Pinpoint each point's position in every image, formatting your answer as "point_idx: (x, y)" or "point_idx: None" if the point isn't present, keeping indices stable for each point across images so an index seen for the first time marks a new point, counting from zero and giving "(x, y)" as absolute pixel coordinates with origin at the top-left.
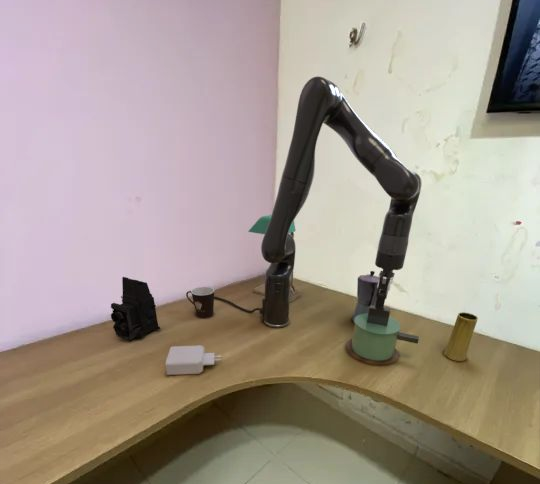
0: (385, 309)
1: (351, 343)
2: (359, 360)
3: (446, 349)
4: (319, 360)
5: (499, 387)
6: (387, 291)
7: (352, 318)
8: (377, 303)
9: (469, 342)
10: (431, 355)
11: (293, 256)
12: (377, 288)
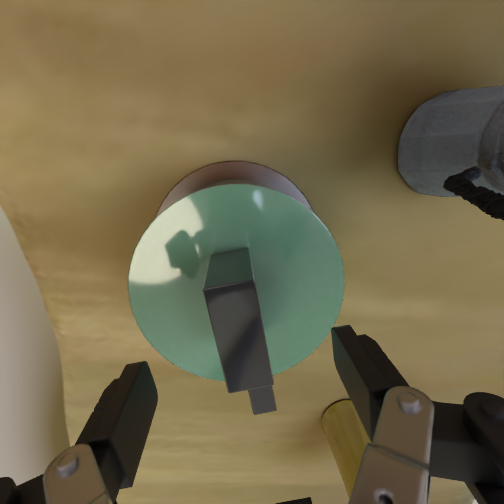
0: (240, 369)
1: (231, 175)
2: None
3: (348, 413)
4: (55, 118)
5: (263, 491)
6: (359, 413)
7: (440, 94)
8: (95, 409)
9: None
10: (316, 379)
11: None
12: (98, 495)
